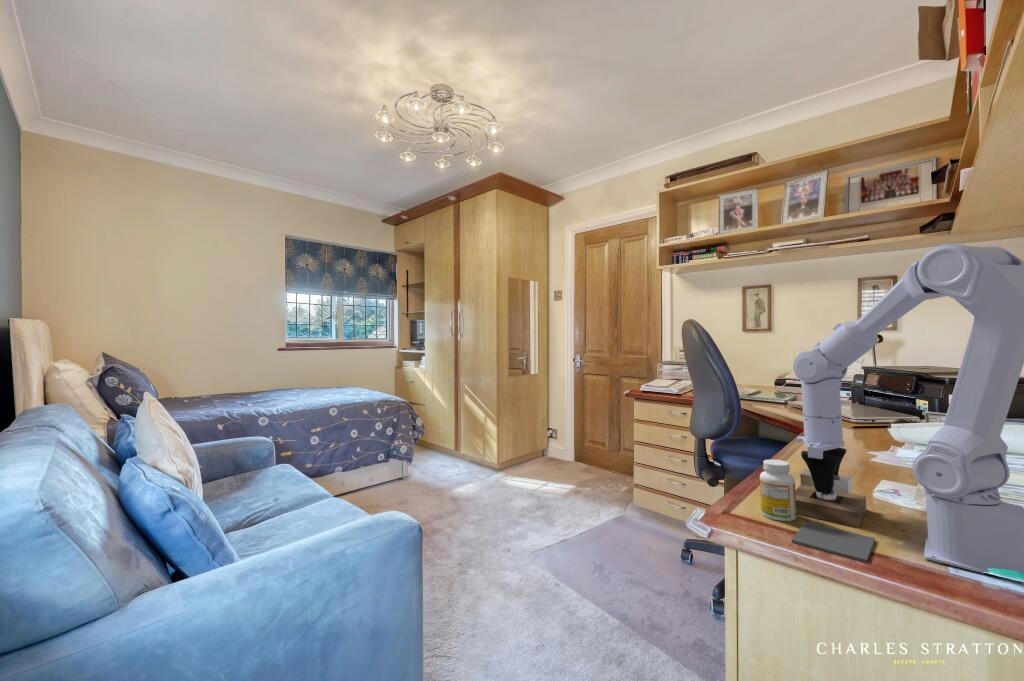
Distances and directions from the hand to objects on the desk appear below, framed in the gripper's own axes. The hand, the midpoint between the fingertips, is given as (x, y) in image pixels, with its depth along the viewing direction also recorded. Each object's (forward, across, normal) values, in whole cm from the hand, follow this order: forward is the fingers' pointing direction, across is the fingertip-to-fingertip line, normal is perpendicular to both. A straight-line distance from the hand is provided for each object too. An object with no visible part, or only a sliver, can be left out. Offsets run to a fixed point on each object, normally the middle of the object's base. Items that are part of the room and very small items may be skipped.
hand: (825, 489), depth 76 cm
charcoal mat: (+4, +14, +3) cm, 14 cm away
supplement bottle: (+4, +8, -6) cm, 11 cm away
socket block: (+4, 0, 0) cm, 4 cm away
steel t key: (+4, 0, 0) cm, 4 cm away
